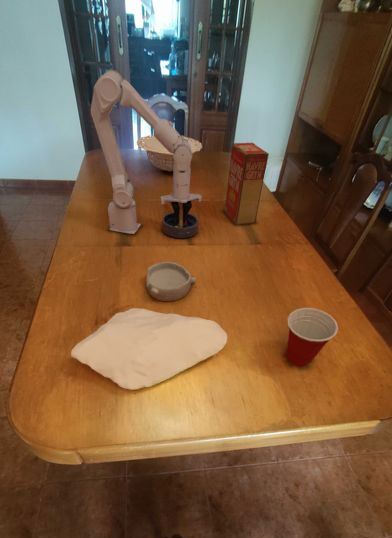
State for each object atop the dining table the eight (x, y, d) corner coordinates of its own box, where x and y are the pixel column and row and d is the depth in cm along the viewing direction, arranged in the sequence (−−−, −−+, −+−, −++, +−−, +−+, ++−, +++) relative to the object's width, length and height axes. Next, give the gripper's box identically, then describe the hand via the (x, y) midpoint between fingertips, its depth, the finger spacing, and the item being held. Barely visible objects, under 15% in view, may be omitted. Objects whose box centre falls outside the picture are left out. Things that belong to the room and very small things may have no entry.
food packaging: (222, 210, 134) (231, 142, 116) (243, 209, 136) (254, 141, 118) (235, 225, 125) (246, 153, 107) (256, 223, 128) (271, 153, 110)
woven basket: (174, 158, 177) (174, 131, 168) (213, 175, 162) (216, 147, 153) (125, 168, 161) (122, 139, 152) (164, 188, 146) (164, 157, 137)
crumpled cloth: (75, 323, 80) (66, 298, 72) (208, 307, 87) (213, 282, 79) (79, 408, 67) (69, 389, 60) (234, 381, 74) (242, 360, 67)
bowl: (157, 235, 116) (157, 224, 113) (168, 220, 125) (168, 209, 122) (193, 242, 114) (194, 231, 111) (201, 225, 123) (202, 215, 120)
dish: (155, 308, 88) (154, 293, 84) (137, 280, 96) (136, 266, 92) (201, 295, 93) (202, 281, 89) (180, 270, 101) (181, 256, 97)
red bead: (181, 226, 120) (179, 221, 121) (185, 226, 122) (183, 221, 122) (184, 223, 119) (182, 217, 119) (189, 223, 120) (186, 218, 121)
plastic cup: (270, 342, 81) (282, 306, 73) (310, 342, 83) (327, 306, 74) (281, 376, 74) (296, 340, 65) (325, 374, 75) (346, 339, 66)
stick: (177, 229, 119) (177, 208, 113) (178, 227, 120) (179, 206, 114) (181, 230, 118) (182, 209, 112) (183, 228, 119) (184, 207, 113)
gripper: (163, 188, 103) (163, 228, 113) (205, 186, 106) (202, 225, 116) (158, 180, 107) (159, 219, 117) (199, 178, 111) (196, 216, 121)
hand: (180, 221), depth 117 cm, fingers closed on stick, 2 cm apart
